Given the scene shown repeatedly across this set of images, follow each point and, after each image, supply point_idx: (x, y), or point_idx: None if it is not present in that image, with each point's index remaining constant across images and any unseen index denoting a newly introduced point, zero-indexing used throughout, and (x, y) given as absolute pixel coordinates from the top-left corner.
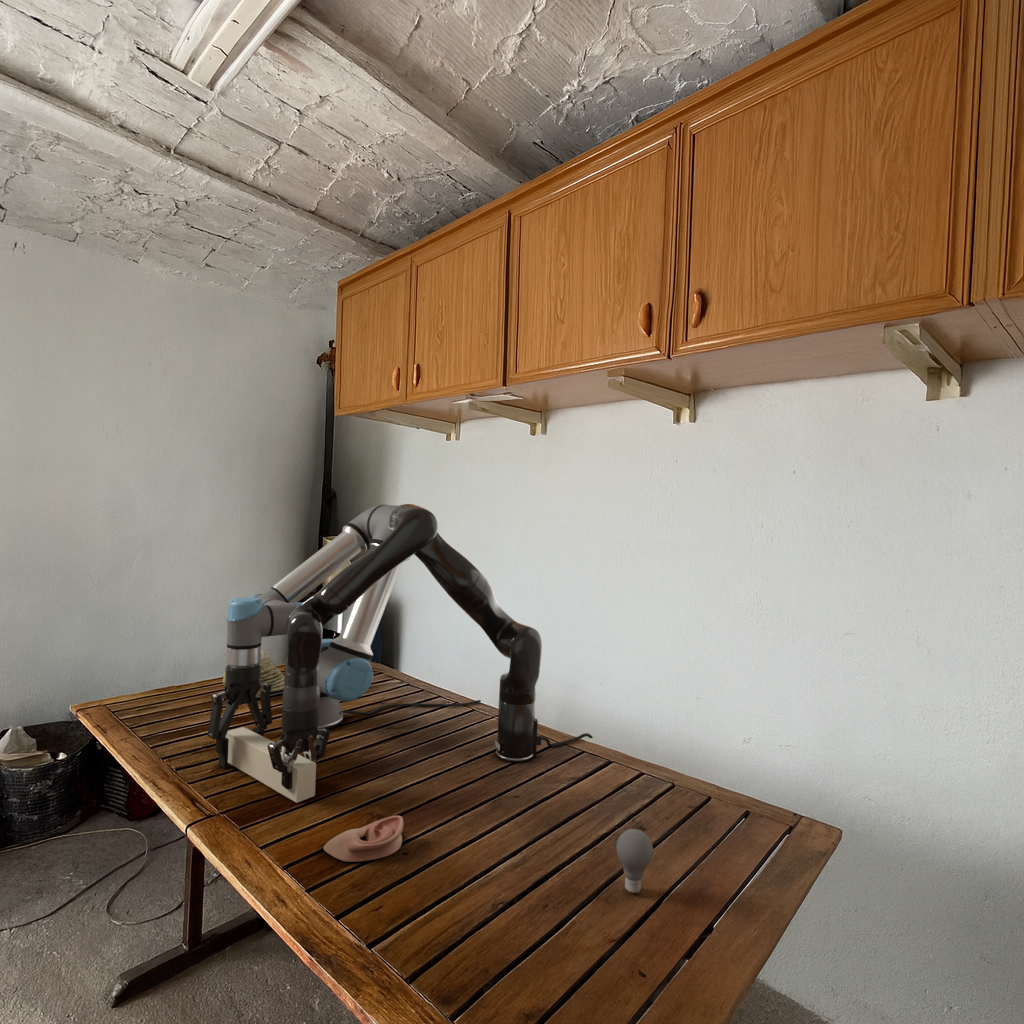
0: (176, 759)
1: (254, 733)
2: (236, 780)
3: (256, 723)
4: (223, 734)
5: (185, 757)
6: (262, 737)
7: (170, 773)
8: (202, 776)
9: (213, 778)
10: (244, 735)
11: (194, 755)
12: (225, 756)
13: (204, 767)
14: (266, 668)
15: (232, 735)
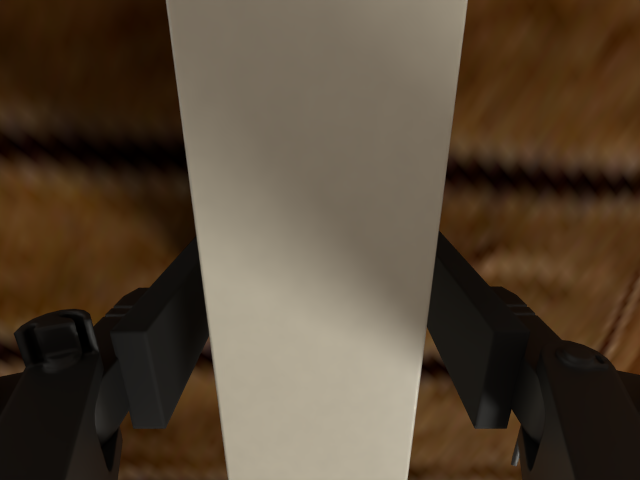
0: (503, 464)
1: (221, 273)
2: (490, 6)
3: (105, 452)
4: (593, 383)
5: (466, 460)
6: (199, 64)
7: (624, 359)
8: (567, 222)
9: (552, 151)
10: (341, 292)
11: (428, 456)
12: (456, 257)
13: None
14: None
15: (419, 378)
